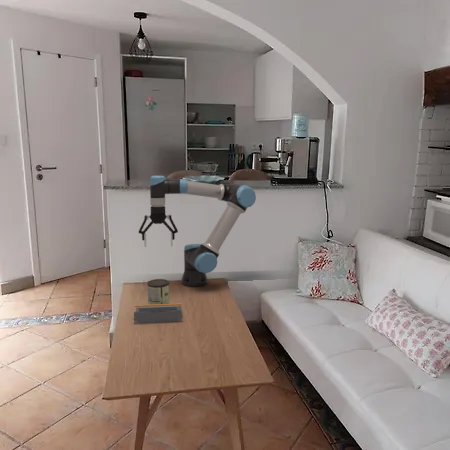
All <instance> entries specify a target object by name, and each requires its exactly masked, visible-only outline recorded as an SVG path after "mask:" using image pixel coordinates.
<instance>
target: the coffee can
mask: <svg viewBox="0 0 450 450" xmlns="http://www.w3.org/2000/svg"><path fill="white" fill-rule="evenodd" d="M146 283H147V305H154V304H170V285H169V284H170V281H169V280H167V279H165V278H164V279H163V278H157V279H156V278H155V279H151V280H148V281H147V282H146Z"/></svg>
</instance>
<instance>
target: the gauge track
mask: <svg viewBox="0 0 450 450" xmlns="http://www.w3.org/2000/svg"><path fill="white" fill-rule="evenodd" d="M181 306H182V304H181V305H179V306H177V310H166V311H141V312H139V307H135V308H136V309H135V311H134V312H133V320H134V321H133V323H140V324H157V323H159V324H160V323H162V324H163V323H180V322H181V323H182V322H183V310H182V308H181Z"/></svg>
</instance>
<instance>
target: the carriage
mask: <svg viewBox="0 0 450 450" xmlns="http://www.w3.org/2000/svg"><path fill="white" fill-rule="evenodd" d="M179 305H181V306H182V303H181V302H180V303H169V304H154V305H148V304H135V305H134V308H137V307H139V312H141V311H166V310H178V309H177V306H179Z"/></svg>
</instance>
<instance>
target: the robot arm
mask: <svg viewBox="0 0 450 450" xmlns="http://www.w3.org/2000/svg"><path fill="white" fill-rule="evenodd" d="M149 179H150V180H149V191H150V198H149V199H150V203H149V204H150V215H147V214H145V215H144V220H143V222H142V224H141V226H140V227H139V230H138V234H141V239H142V241H144V247H145V248H147V234H146V232H147V231H148V230H149V229H150V228H151V227H152V225H153V224H155V225H161V224H163V225H164V226H165V227H166V228H167V229H168V230H169V232H171V233H170V247H173V241H174V240H175V238H176V236H175V234H176V233H179V230H178V228H177V226H176V224H175V223H174V220H173V219H172V215H171V214H169V215H166V206H165V205H166V195H175V194H176V195H178V194H179V195H182V194H183V195H189V196H190V195H191V196H199V197H204V198H205V197H206V198H214V199H217V200H218V201H223V202H226V204H227V205H226V208H225V210H224V211H223V213H222V214H221V215H220V218H219V219H218V221H217V223H216V224H215V226H214V227H213V229H212V231H211V233H210V234H209V236H208V237H207V239H206V241H204V242H202V243H194V244H193V243H190V244H186V245H184V247H183V248H184V249H183V263H184V267H183V268H184V271H183V273H182V277H181V284H182V286H185V287H192V288H193V287H203V286H206V285H208V276H207V274H209V273H211V272H213V271H214V270H215V269H216V268H217V265H218V257H219V255H220V249H221V247H222V245H223V244H224V242H225V240H226V238H227V237H228V235H229V234H230V232H231V231H232V229H233V227H234V226H235V224H236V222H237V221H238V219H239V217H240V216H241V215H242V214H244V213H246V211H247V210H248V208H251V207H252V206H253V205H254V204H255V203H256V200H257V199H256V198H257V196H256V191H255V189H253V188H252V187H251V186H248V185H246V184H244V185H243V184H237V183H234V184H233V183H232V184H231V183H230V184H225V183H220V184H212V183H206V182H201V181H200V182H199V181H192V180H186V179H183V178H179V179H177V178H171V177H166V176H165V175H151V176H150V178H149ZM149 219H150V222H149V223H148V225H147V226H146V227H145V228H144V226H145V225H146V222H147V220H149ZM166 219H167V220H169V222H170V224H171V226H172V227H171V226H170V225H169V224H168V223H167V221H166ZM143 229H144V230H143Z"/></svg>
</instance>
